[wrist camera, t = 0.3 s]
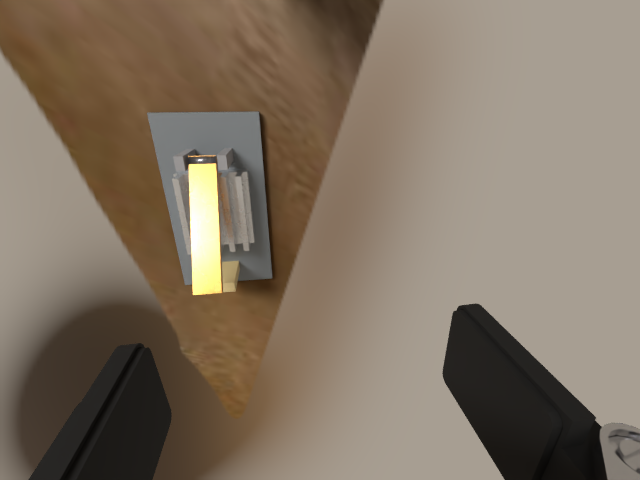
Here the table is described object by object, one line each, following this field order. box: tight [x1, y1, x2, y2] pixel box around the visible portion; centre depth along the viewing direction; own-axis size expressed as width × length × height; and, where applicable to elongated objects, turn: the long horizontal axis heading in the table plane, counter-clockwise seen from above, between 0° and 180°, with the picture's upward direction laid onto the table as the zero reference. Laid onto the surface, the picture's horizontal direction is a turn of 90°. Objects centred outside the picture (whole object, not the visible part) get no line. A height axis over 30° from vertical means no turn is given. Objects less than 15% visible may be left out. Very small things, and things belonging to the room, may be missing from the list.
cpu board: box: [147, 112, 272, 292], centre depth 40 cm, size 24×13×7 cm, turn 0°
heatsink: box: [172, 169, 255, 255], centre depth 40 cm, size 10×9×4 cm
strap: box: [188, 155, 223, 295], centre depth 35 cm, size 16×3×1 cm, turn 0°
